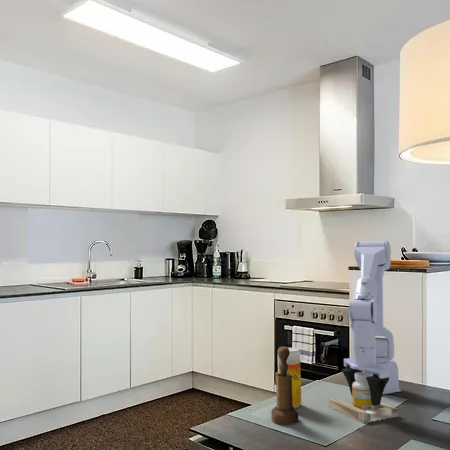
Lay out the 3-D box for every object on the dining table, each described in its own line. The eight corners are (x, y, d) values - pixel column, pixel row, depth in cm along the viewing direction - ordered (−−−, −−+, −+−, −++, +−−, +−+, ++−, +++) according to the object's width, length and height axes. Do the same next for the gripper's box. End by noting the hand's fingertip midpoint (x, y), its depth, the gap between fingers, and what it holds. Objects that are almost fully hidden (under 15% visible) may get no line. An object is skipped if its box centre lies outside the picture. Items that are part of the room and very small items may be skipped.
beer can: (302, 409, 129) (301, 351, 130) (279, 409, 129) (278, 351, 130) (299, 402, 135) (298, 347, 136) (277, 402, 135) (276, 347, 136)
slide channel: (360, 401, 135) (360, 393, 135) (397, 416, 122) (397, 408, 122) (329, 406, 131) (328, 399, 131) (364, 423, 118) (363, 414, 118)
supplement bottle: (359, 407, 130) (358, 370, 130) (378, 411, 126) (377, 373, 126) (349, 412, 126) (347, 374, 126) (368, 417, 122) (367, 377, 123)
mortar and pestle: (268, 423, 119) (266, 348, 120) (275, 414, 125) (273, 343, 126) (295, 426, 117) (293, 349, 118) (300, 417, 123) (299, 344, 124)
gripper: (334, 343, 131) (335, 395, 130) (370, 353, 118) (372, 411, 117) (355, 340, 134) (356, 391, 133) (393, 350, 121) (395, 406, 120)
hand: (365, 400), depth 125 cm, fingers open, 7 cm apart
